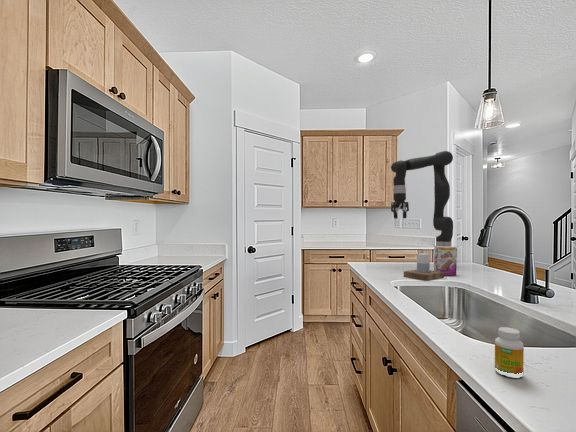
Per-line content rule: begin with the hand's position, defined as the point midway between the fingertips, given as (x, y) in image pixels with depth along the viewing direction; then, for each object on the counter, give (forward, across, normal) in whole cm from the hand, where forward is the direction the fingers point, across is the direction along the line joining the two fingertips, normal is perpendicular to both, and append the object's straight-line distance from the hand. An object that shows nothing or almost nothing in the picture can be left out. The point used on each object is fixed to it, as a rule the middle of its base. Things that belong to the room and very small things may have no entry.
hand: (400, 218), depth 219 cm
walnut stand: (+32, -12, -24) cm, 42 cm away
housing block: (+29, -12, -24) cm, 40 cm away
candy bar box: (+33, +4, -27) cm, 43 cm away
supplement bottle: (+32, -98, -106) cm, 148 cm away
